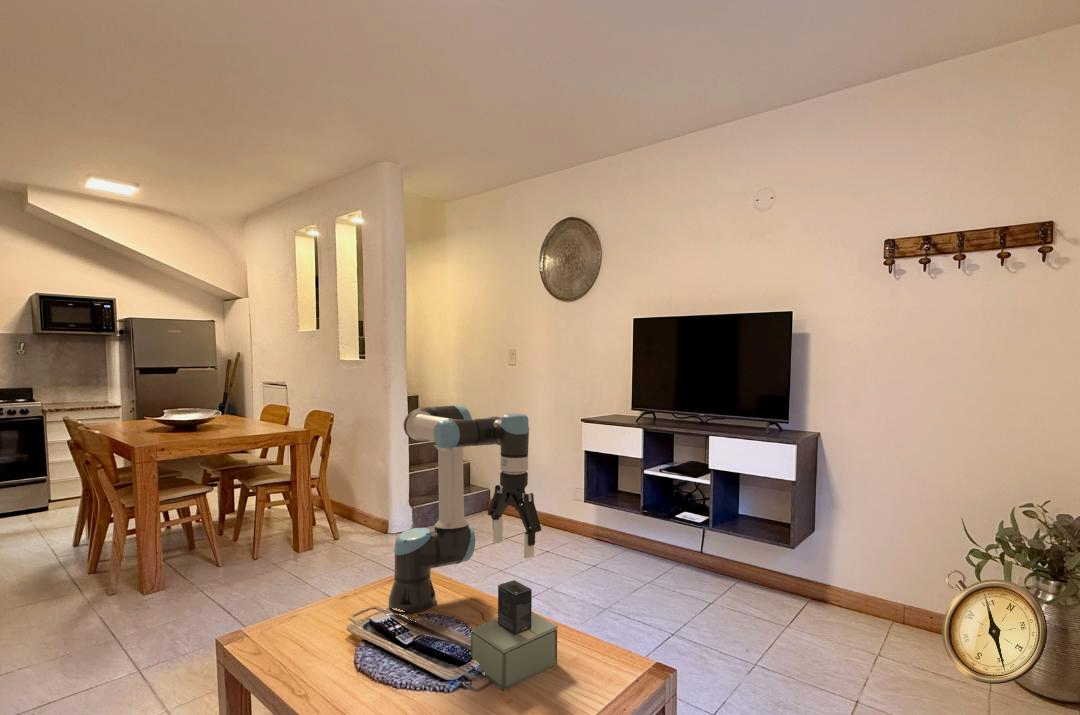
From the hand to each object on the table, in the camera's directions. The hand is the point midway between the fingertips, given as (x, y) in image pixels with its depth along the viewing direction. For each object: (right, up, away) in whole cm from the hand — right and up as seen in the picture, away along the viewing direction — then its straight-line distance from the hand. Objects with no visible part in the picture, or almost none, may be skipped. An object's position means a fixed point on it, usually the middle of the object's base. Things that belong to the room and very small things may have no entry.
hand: (512, 549), depth 142 cm
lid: (+1, -20, -3) cm, 20 cm away
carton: (+1, -29, -3) cm, 29 cm away
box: (+1, -19, -3) cm, 20 cm away
